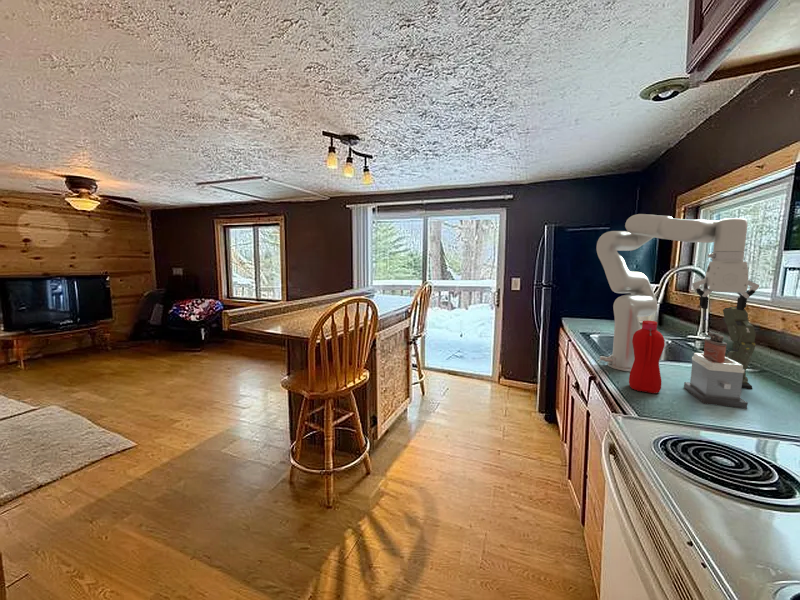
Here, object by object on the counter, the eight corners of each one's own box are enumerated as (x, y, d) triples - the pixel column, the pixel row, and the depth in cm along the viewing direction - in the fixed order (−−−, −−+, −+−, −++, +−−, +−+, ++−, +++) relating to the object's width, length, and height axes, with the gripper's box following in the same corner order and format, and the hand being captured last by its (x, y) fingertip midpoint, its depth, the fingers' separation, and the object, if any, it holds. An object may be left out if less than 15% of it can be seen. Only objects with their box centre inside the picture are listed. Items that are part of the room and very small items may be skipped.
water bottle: (630, 392, 125) (636, 322, 123) (627, 383, 135) (632, 317, 132) (662, 397, 121) (669, 325, 118) (657, 387, 131) (663, 320, 128)
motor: (704, 403, 116) (708, 363, 114) (683, 387, 131) (687, 351, 129) (747, 408, 112) (752, 367, 111) (721, 391, 127) (725, 354, 126)
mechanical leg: (764, 390, 125) (758, 305, 129) (740, 389, 127) (735, 305, 130) (736, 386, 139) (731, 309, 142) (714, 385, 140) (710, 309, 144)
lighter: (727, 366, 116) (731, 336, 115) (716, 365, 117) (719, 335, 116) (710, 359, 124) (713, 331, 123) (699, 358, 125) (702, 330, 124)
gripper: (700, 257, 116) (695, 309, 118) (769, 257, 110) (762, 312, 112) (690, 257, 123) (685, 306, 125) (754, 257, 117) (748, 309, 119)
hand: (721, 309), depth 118 cm, fingers open, 9 cm apart
